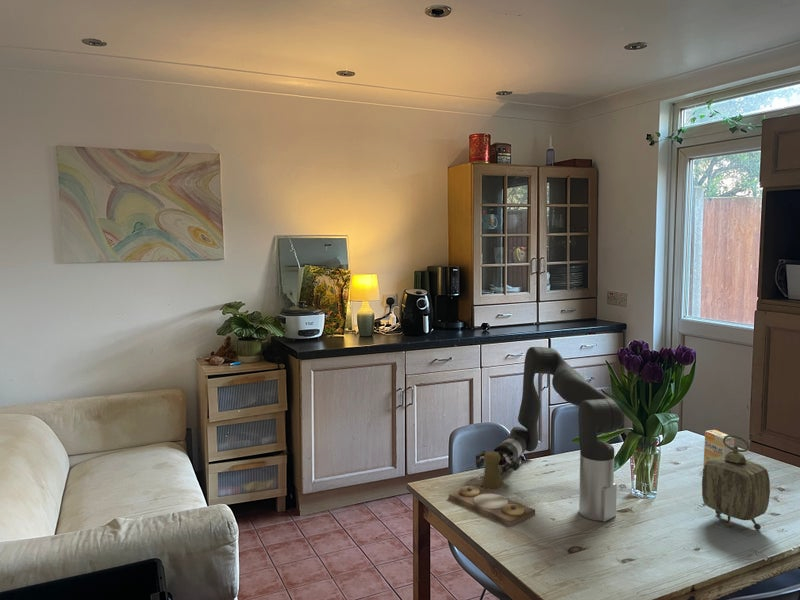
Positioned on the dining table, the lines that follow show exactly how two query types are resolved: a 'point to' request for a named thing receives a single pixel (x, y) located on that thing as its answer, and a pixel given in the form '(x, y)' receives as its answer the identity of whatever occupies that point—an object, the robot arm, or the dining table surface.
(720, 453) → the supplement box
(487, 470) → the cork
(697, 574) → the dining table surface
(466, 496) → the board
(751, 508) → the tabletop clock
